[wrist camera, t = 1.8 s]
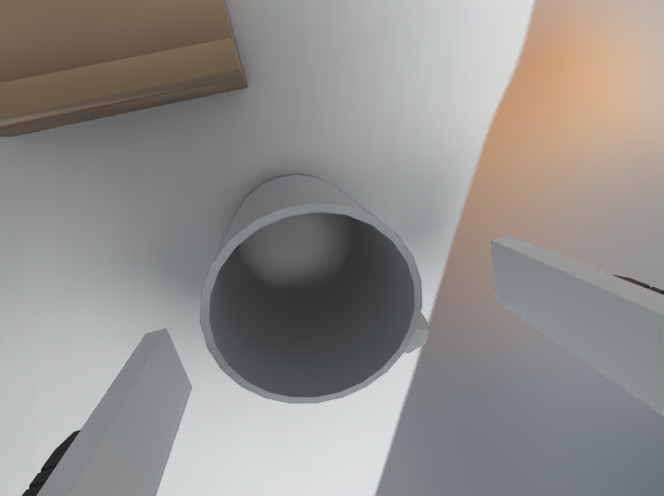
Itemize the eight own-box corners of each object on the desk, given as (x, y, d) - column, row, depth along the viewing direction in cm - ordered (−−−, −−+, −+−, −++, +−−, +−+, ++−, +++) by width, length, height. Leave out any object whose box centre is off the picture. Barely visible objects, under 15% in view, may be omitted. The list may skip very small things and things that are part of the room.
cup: (270, 146, 17) (269, 154, 9) (417, 234, 20) (518, 301, 12) (209, 262, 19) (159, 362, 10) (355, 328, 22) (408, 447, 13)
